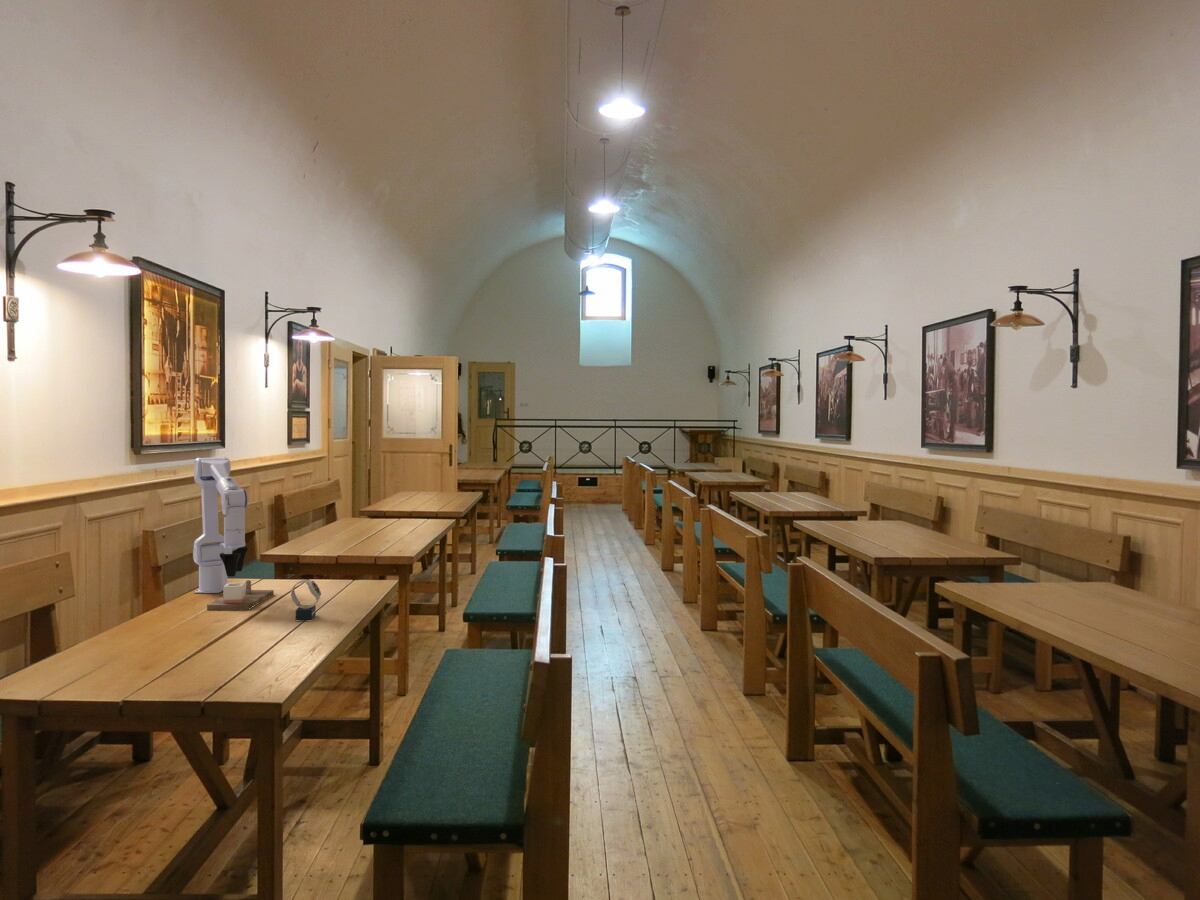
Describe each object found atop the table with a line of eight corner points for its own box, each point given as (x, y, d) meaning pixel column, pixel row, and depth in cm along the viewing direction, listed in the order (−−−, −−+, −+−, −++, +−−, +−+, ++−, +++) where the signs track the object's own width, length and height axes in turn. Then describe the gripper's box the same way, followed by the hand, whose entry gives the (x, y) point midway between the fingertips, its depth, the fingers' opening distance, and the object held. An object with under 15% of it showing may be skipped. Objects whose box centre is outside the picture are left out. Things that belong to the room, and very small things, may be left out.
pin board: (235, 594, 250) (235, 576, 250) (273, 594, 250) (273, 576, 250) (207, 609, 230) (207, 590, 230) (248, 610, 230) (248, 590, 230)
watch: (318, 620, 220) (318, 582, 220) (289, 621, 219) (289, 582, 218) (322, 615, 226) (322, 578, 225) (293, 616, 224) (293, 578, 224)
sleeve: (228, 599, 237) (228, 583, 237) (245, 598, 238) (245, 582, 238) (223, 603, 232) (223, 586, 232) (241, 602, 233) (241, 586, 233)
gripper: (227, 525, 240) (227, 569, 241) (213, 532, 226) (213, 578, 227) (251, 525, 242) (251, 568, 242) (238, 532, 228) (239, 578, 228)
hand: (234, 573), depth 235 cm, fingers open, 7 cm apart
